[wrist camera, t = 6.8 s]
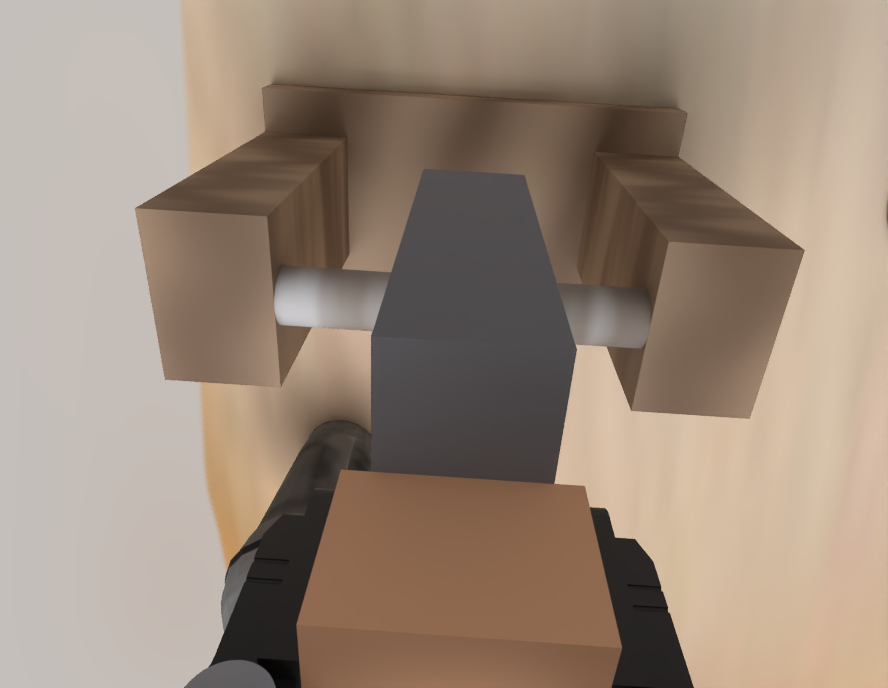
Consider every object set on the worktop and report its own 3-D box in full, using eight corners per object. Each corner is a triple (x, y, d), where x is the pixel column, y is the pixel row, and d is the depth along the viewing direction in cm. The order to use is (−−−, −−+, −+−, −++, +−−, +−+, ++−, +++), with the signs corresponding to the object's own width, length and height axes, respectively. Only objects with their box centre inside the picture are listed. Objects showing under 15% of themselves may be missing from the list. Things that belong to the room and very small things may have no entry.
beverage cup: (265, 423, 41) (106, 736, 23) (367, 387, 40) (278, 694, 22) (319, 504, 44) (214, 837, 26) (415, 474, 43) (372, 807, 25)
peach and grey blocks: (541, 175, 19) (665, 489, 7) (510, 425, 23) (552, 902, 11) (406, 167, 19) (282, 463, 7) (400, 418, 23) (317, 884, 11)
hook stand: (678, 108, 31) (826, 182, 18) (639, 297, 36) (734, 465, 23) (271, 84, 32) (122, 139, 18) (284, 274, 36) (173, 427, 23)
